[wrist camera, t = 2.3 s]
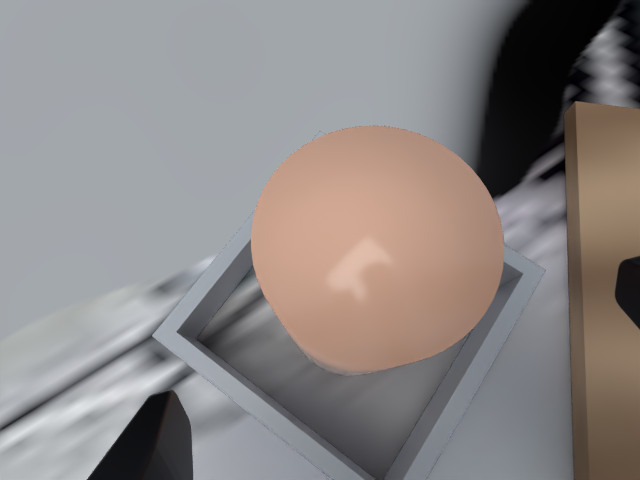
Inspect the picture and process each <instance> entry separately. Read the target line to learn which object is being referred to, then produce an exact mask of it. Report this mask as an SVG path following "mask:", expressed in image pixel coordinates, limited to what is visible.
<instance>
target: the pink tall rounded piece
mask: <svg viewBox="0 0 640 480" xmlns="http://www.w3.org/2000/svg"><path fill="white" fill-rule="evenodd" d="M251 252H252V260H253V266H254V269H255V273H256V277H257V280H258V283H259V285H260V287H261V289H262V292H263V294H264V296H265V298H266V299H267V301H268V303H269V304H270V306H271V308H272V309H273V311H274V312H275V314H276V315H277V317H278V318H279V320H280V321H281V323H282V324H283V326H284V327H285V329H286V330H287V331H288V333H289V334H290V336H291V337H292V339H293V340H294V342H295V343H296V345H297V346H298V348H299V349H300V350H301V352H302V353H303V354H304V355H305V357H306V358H307V359H309V360H310V361H311V362H312V363H313V364H315V365H316V366H317V367H319V368H321V369H323V370H325V371H327V372H330V373H332V374H337V375H341V376H359V375H364V374H369V373H373V372H377V371H381V370H385V369H389V368H393V367H397V366H402V365H406V364H410V363H414V362H417V361H420V360H423V359H426V358H429V357H432V356H434V355H436V354H438V353H440V352H442V351H444V350H446V349H448V348H450V347H451V346H452V345H454V344H455V343H457V342H458V341H460V340H461V339H462V338H463V337H465V336H466V335H467V334H468V333H469V332H470V331H471V330H472V329H473V328H474V327H475V326H476V325H477V323H478V322H479V321H480V320H481V318H482V317H483V316H484V315H485V313H486V311H487V310H488V308H489V306H490V304H491V303H492V301H493V299H494V297H495V294H496V291H497V289H498V286H499V284H500V279H501V275H502V271H503V263H504V236H503V231H502V226H501V221H500V218H499V215H498V212H497V209H496V206H495V204H494V202H493V200H492V198H491V196H490V194H489V192H488V190H487V189H486V187H485V186H484V184H483V183H482V181H481V179H480V178H479V177H478V176H477V175H476V174H475V172H474V171H473V170H472V169H471V167H469V166H468V165H467V164H466V163H465V162H464V161H463V160H462V159H461V158H460V157H459V156H457V155H456V154H455V153H453V152H452V151H451V150H449V149H448V148H446V147H445V146H443V145H441V144H439V143H438V142H436V141H434V140H432V139H430V138H427V137H425V136H423V135H421V134H418V133H414V132H411V131H408V130H404V129H399V128H393V127H386V126H359V127H352V128H346V129H342V130H339V131H335V132H331V133H328V134H326V135H324V136H321V137H319V138H316V139H315V140H313V141H311V142H309V143H307V144H306V145H304V146H302V147H301V148H300V149H298V150H297V151H296V152H294V153H293V154H292V155H291V156H289V157H288V158H287V159H286V160H285V161H284V162H283V163H282V164H281V165H280V166H279V168H278V169H277V170H276V171H275V173H274V174H273V175H272V177H271V178H270V180H269V181H268V183H267V185H266V186H265V188H264V189H263V192H262V194H261V196H260V199H259V201H258V203H257V206H256V210H255V213H254V217H253V223H252V230H251Z"/></svg>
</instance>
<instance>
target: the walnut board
mask: <svg viewBox="0 0 640 480" xmlns="http://www.w3.org/2000/svg"><path fill="white" fill-rule="evenodd" d="M564 130H565V166H566V202H567V238H568V275H569V311H570V347H571V384H572V420H573V456H574V480H640V330H639V328H638V327H637V326H636V325H635V324H634V323H633V322H632V320H631V319H630V318H629V317H628V316H627V315H626V314H625V312H624V311H623V310H622V309H621V308H620V307H619V305H618V304H617V302H616V299H615V295H614V293H615V286H616V279H617V272H618V266H619V264H620V263H621V262H622V261H623V260H625V259H629V258H632V257H636V256H640V109H635V108H627V107H619V106H610V105H602V104H593V103H585V102H577V101H575V102H574V104H573V105H572V106H571V107H570V108H569V109H568V110H567V111H566V113H565V114H564Z"/></svg>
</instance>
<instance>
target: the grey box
mask: <svg viewBox="0 0 640 480" xmlns="http://www.w3.org/2000/svg"><path fill="white" fill-rule="evenodd" d="M324 135H326V134H325V133H323V132H322V131H319V132H318V134H317V135H316V136H315V137H314V139H313V140H315V139H316V138H319V137H321V136H324ZM313 140H312V141H313ZM255 210H256V209H255ZM254 213H255V211H254V212H253V213H252V214H251V215H250V217H249V218H248V219H247V220H246V222H245V223H244V224H243V225H242V227H241V228H240V229H239V230H238V232H237V233H236V234H235V235H234V236H233V238H232V239H231V240H230V241H229V243H228V244H227V245H226V246H225V247H224V248H223V250H222V251H221V252H220V253H219V255H218V256H217V257H216V258H215V259H214V261H213V262H212V263H211V264H210V266H209V267H208V268H207V269H206V270H205V272H204V273H203V274H202V275H201V277H200V278H199V279H198V280H197V281H196V283H195V284H194V285H193V286H192V288H191V289H190V290H189V291H188V292H187V294H186V295H185V296H184V297H183V299H182V300H181V301H180V302H179V303H178V305H177V306H176V307H175V308H174V310H173V311H172V312H171V313H170V315H169V316H168V317H167V318H166V319H165V321H164V322H163V323H162V324H161V326H160V327H159V328H158V329H157V330H156V332H155V333H154V334H153V335H152V336H153V337H154V338H155V339H157V340H158V341H159V342H160V343H162V344H163V345H164V346H165V347H167V348H168V349H169V350H170V351H172V352H173V353H174V354H175V355H177V356H178V357H179V358H180V359H182V360H183V361H184V362H185V363H187V364H188V365H189V366H190V367H192V368H193V369H194V370H195V371H197V372H198V373H199V374H200V375H202V376H203V377H204V378H205V379H207V380H208V381H209V382H210V383H212V384H213V385H214V386H215V387H217V388H218V389H219V390H220V391H222V392H223V393H224V394H225V395H227V396H228V397H229V398H230V399H232V400H233V401H234V402H236V403H237V404H238V405H239V406H241V407H242V408H243V409H244V410H246V411H247V412H248V413H249V414H251V415H252V416H253V417H254V418H256V419H257V420H258V421H259V422H261V423H262V424H263V425H264V426H266V427H267V428H268V429H269V430H271V431H272V432H273V433H274V434H276V435H277V436H278V437H279V438H281V439H282V440H283V441H284V442H286V443H287V444H288V445H289V446H291V447H292V448H293V449H294V450H296V451H297V452H298V453H299V454H301V455H302V456H303V457H304V458H306V459H307V460H308V461H309V462H311V463H312V464H313V465H314V466H316V467H317V468H318V469H320V470H321V471H322V472H323V473H325V474H326V475H327V476H328V477H330V478H331V479H332V480H376V479H375V478H373V477H372V476H371V475H370V474H368V473H367V472H366V471H364V470H363V469H362V468H361V467H359V466H358V465H357V464H355V463H354V462H353V461H352V460H350V459H349V458H348V457H347V456H345V455H344V454H343V453H341V452H340V451H339V450H338V449H336V448H335V447H334V446H332V445H331V444H330V443H329V442H327V441H326V440H325V439H323V438H322V437H321V436H320V435H318V434H317V433H316V432H314V431H313V430H312V429H311V428H309V427H308V426H307V425H305V424H304V423H303V422H302V421H300V420H299V419H298V418H296V417H295V416H294V415H293V414H291V413H290V412H289V411H288V410H286V409H285V408H284V407H282V406H281V405H280V404H279V403H277V402H276V401H275V400H273V399H272V398H271V397H270V396H268V395H267V394H266V393H264V392H263V391H262V390H261V389H259V388H258V387H257V386H255V385H254V384H253V383H252V382H250V381H249V380H248V379H246V378H245V377H244V376H243V375H241V374H240V373H239V372H237V371H236V370H235V369H234V368H232V367H231V366H230V365H229V364H227V363H226V362H225V361H223V360H222V359H221V358H220V357H218V356H217V355H216V354H214V353H213V352H212V351H211V350H209V349H208V348H207V347H205V346H204V345H203V344H202V343H200V342H199V341H198V340H196V338H197V337H198V335H199V334H200V333H201V331H202V330H203V329H204V328H205V326H206V325H207V324H208V323H209V321H210V320H211V319H212V317H213V316H214V315H215V314H216V312H217V311H218V310H219V309H220V307H221V306H222V305H223V303H224V302H225V301H226V300H227V298H228V297H229V296H230V295H231V293H232V292H233V291H234V289H235V288H236V287H237V286H238V284H239V283H240V282H241V281H242V279H243V278H244V277H245V275H246V274H247V273H248V272H249V270H250V269H251V268H252V267H253V260H252V252H251V230H252V223H253V217H254ZM545 271H546V270H545V269H543V268H542V267H540V266H539V265H537V264H535V263H534V262H532V261H530V260H529V259H527V258H526V257H524V256H522V255H521V254H519V253H518V252H516V251H514V250H513V249H511V248H509V247H508V246H506V245H505V244H504V263H503V271H502V275H501V279H500V284H499V286H498V289H497V291H496V294H495V297H494V299H493V301H492V303H491V304H490V306H489V308H488V310H487V311H486V313H485V315H484V316H483V317H482V318H481V320H480V321H479V322H478V323H477V325H476V326H475V327H474V329H473V330H472V332H471V334H470V335H469V337H468V339H467V340H466V342H465V344H464V345H463V347H462V349H461V350H460V352H459V354H458V355H457V357H456V359H455V360H454V362H453V364H452V365H451V367H450V369H449V370H448V372H447V374H446V375H445V377H444V379H443V380H442V382H441V384H440V385H439V387H438V389H437V390H436V392H435V394H434V395H433V397H432V399H431V400H430V402H429V404H428V405H427V407H426V409H425V410H424V412H423V414H422V415H421V417H420V419H419V420H418V422H417V424H416V425H415V427H414V429H413V430H412V432H411V434H410V436H409V437H408V439H407V441H406V442H405V444H404V446H403V447H402V449H401V451H400V452H399V454H398V456H397V457H396V459H395V461H394V462H393V464H392V466H391V467H390V469H389V471H388V472H387V474H386V476H385V477H384V479H383V480H426V479H427V477H428V475H429V474H430V472H431V470H432V468H433V467H434V465H435V463H436V461H437V460H438V458H439V456H440V454H441V453H442V451H443V449H444V447H445V446H446V444H447V442H448V440H449V439H450V437H451V435H452V433H453V432H454V430H455V428H456V426H457V425H458V423H459V421H460V419H461V418H462V416H463V414H464V412H465V411H466V409H467V407H468V405H469V404H470V402H471V400H472V398H473V397H474V395H475V393H476V391H477V390H478V388H479V386H480V384H481V383H482V381H483V379H484V377H485V376H486V374H487V372H488V370H489V369H490V367H491V365H492V363H493V362H494V360H495V358H496V356H497V355H498V353H499V351H500V349H501V348H502V346H503V344H504V342H505V341H506V339H507V337H508V335H509V334H510V332H511V330H512V328H513V327H514V325H515V323H516V321H517V320H518V318H519V316H520V314H521V313H522V311H523V309H524V307H525V306H526V304H527V302H528V300H529V299H530V297H531V295H532V293H533V292H534V290H535V288H536V286H537V285H538V283H539V281H540V279H541V278H542V276H543V274H544V272H545Z"/></svg>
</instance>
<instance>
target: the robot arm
mask: <svg viewBox="0 0 640 480" xmlns="http://www.w3.org/2000/svg"><path fill="white" fill-rule="evenodd" d="M614 295H615V299H616V302H617V304H618V305H619V307H620V308H621V309H622V310H623V311H624V312H625V314H626V315H627V316H628V317H629V318H630V319H631V320H632V322H633V323H634V324H635V325H636V326H637V327H638V328H639V330H640V256H636V257H632V258H629V259H625V260H623V261H622V262H621V263H620V264H619V266H618V272H617V279H616V286H615V293H614ZM87 480H193V460H192V435H191V425H190V421H189V419H188V416H187V414H186V412H185V410H184V408H183V406H182V404H181V402H180V400H179V398H178V396H177V394H176V393H175V392H174V391H173V390H166V391H162V392H159V393H155V394H153V395H151V396H149V397H148V398H147V400H146V401H145V402H144V404H143V405H142V406H141V408H140V409H139V410H138V412H137V413H136V414H135V416H134V417H133V418H132V420H131V421H130V422H129V424H128V425H127V427H126V428H125V429H124V431H123V432H122V433H121V435H120V436H119V437H118V439H117V440H116V441H115V443H114V444H113V445H112V447H111V448H110V449H109V451H108V452H107V453H106V455H105V456H104V457H103V459H102V460H101V461H100V463H99V464H98V465H97V467H96V468H95V469H94V471H93V472H92V473H91V475H90V476H89V477H88V479H87Z"/></svg>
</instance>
